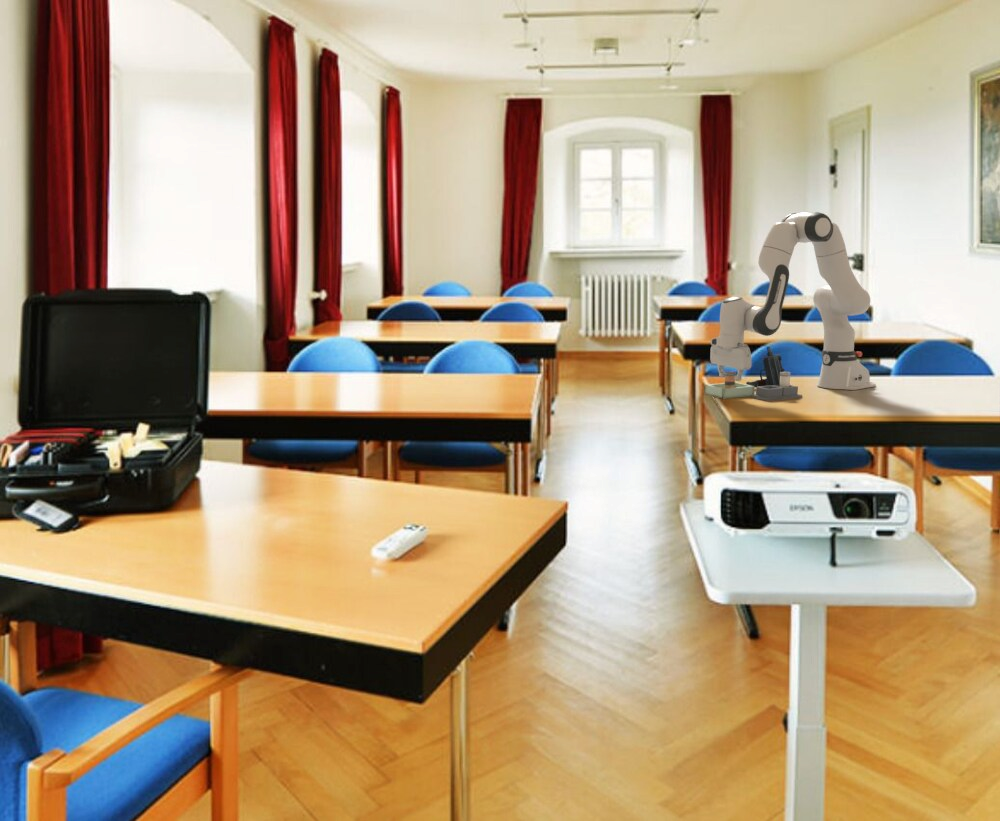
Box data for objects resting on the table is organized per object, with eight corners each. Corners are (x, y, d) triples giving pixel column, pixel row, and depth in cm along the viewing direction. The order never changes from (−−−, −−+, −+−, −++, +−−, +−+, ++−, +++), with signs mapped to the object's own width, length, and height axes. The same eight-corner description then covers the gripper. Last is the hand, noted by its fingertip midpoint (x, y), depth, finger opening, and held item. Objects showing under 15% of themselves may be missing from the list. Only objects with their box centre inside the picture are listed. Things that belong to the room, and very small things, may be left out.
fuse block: (785, 393, 379) (786, 383, 378) (802, 397, 371) (802, 386, 370) (751, 397, 373) (751, 386, 372) (767, 401, 365) (767, 390, 364)
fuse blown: (730, 392, 380) (731, 371, 378) (736, 393, 377) (737, 372, 375) (722, 393, 378) (723, 371, 377) (728, 394, 375) (729, 373, 374)
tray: (735, 391, 385) (735, 382, 385) (754, 395, 376) (754, 386, 375) (705, 394, 380) (705, 384, 379) (723, 398, 370) (723, 389, 369)
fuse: (784, 392, 376) (785, 371, 374) (791, 394, 372) (792, 372, 371) (776, 393, 374) (777, 372, 373) (783, 395, 371) (784, 373, 369)
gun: (741, 352, 391) (779, 344, 383) (750, 394, 392) (788, 387, 384) (739, 353, 389) (777, 345, 381) (748, 395, 390) (786, 388, 382)
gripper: (756, 344, 366) (755, 382, 368) (721, 338, 384) (720, 374, 387) (742, 345, 363) (740, 383, 366) (707, 339, 382) (706, 375, 384)
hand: (730, 378), depth 376 cm, fingers open, 8 cm apart
